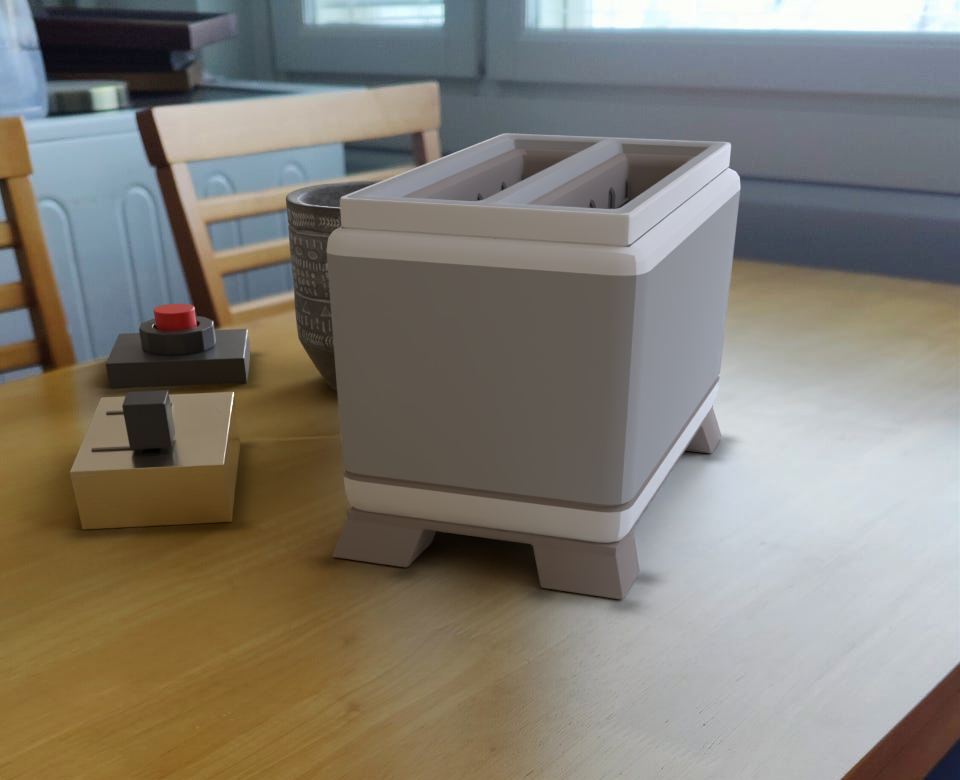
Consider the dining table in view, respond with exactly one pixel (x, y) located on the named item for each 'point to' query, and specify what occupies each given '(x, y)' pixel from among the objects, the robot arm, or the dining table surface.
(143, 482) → the panel
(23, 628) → the dining table surface
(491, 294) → the toaster
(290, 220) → the planter
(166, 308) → the button
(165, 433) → the slider
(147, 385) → the button housing
